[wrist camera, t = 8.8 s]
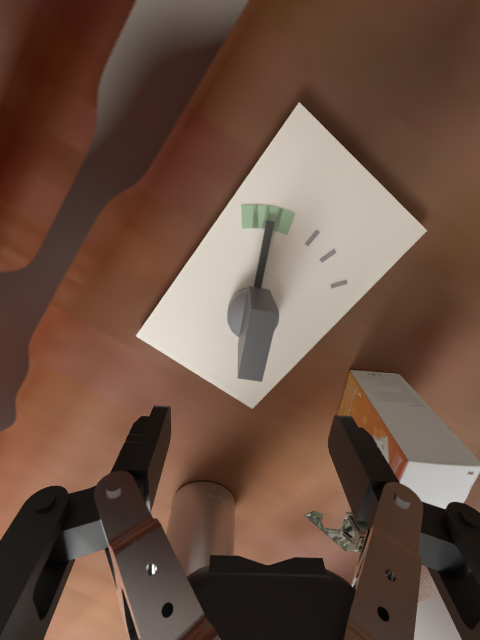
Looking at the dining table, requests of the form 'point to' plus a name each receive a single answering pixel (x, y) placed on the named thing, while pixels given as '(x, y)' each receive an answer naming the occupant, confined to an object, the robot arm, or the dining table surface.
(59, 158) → the dining table surface
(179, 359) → the gauge board
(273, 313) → the tuning knob
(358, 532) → the eiffel tower figurine
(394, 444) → the small box
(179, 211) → the dining table surface
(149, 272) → the dining table surface
